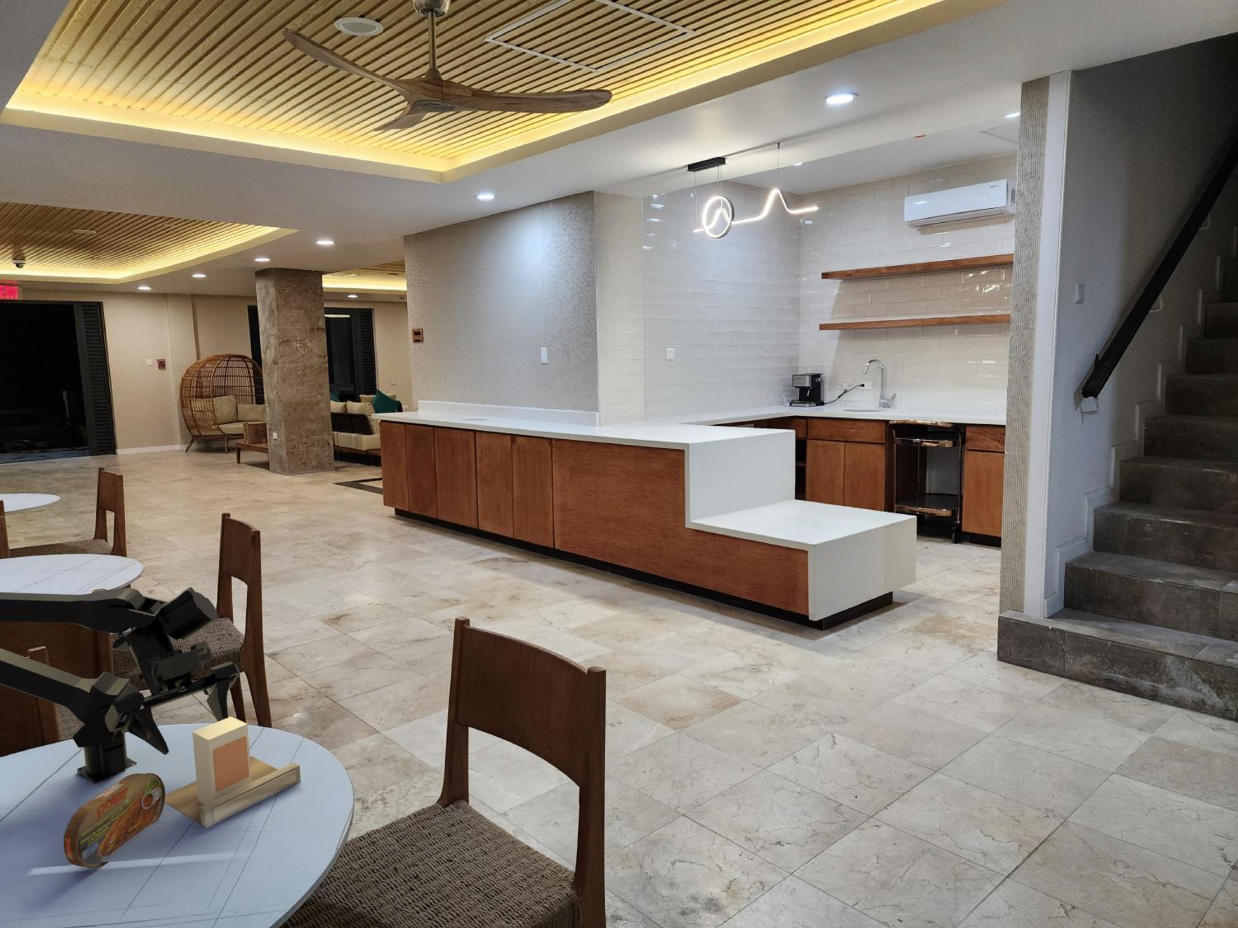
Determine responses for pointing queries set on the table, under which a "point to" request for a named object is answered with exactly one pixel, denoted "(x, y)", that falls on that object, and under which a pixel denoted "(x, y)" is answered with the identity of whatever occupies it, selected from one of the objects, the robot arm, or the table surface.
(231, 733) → the carton
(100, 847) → the tin
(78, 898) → the table surface
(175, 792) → the shelf
